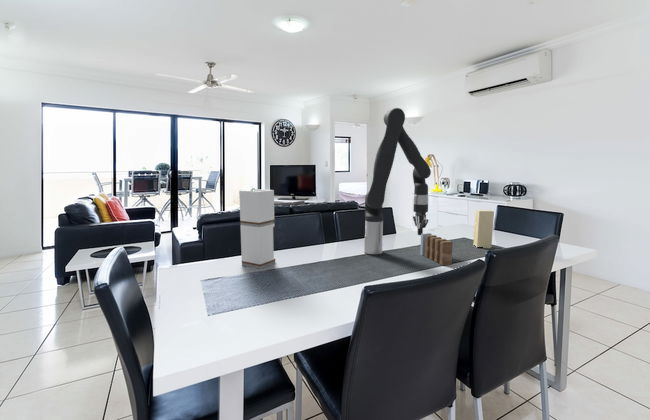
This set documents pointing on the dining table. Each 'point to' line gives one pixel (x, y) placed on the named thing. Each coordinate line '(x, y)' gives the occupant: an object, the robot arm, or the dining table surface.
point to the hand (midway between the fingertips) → (420, 235)
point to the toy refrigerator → (483, 228)
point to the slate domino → (423, 243)
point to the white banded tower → (257, 227)
